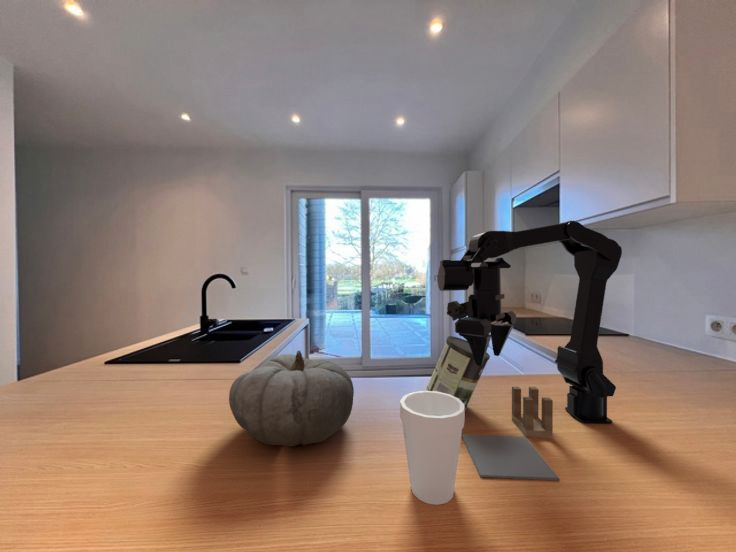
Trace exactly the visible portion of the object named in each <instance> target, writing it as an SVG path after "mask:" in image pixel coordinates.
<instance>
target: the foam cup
mask: <svg viewBox="0 0 736 552" xmlns="http://www.w3.org/2000/svg"><path fill="white" fill-rule="evenodd" d="M465 411H466V410H465V405H464V404H463V403H462V401H461V400H460V399H458V398H456V397H454V396H452V395H450V394H446V393H441V392H437V391H426V390H419V391H413V392H409V393H407V394H405V395H403V396H402V397H401V399H400V401H399V418H400V420H401V424H402V431H403V440H404V445H405V446H404V447H405V455H406V461H407V468H408V469H407V470H408V475H409V476H408V477H409V484H410V488H411V492H412V494H413V495H414V497H416V499H418V500H419V501H421V502H423V503H426V504H428V505H437V506H439V505H444V504H447V503H449V502H450V501H451V500H452V499H453V498H454V491H455V485H456V477H457V470H458V464H459V463H458V462H459V455H460V448H461V442H462V441H461V440H462V439H461V438H462V435H463V434H462V433H463V429H464V428H465V421H466V419H465V418H466V417H465V414H466V413H465Z"/></svg>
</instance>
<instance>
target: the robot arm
mask: <svg viewBox="0 0 736 552" xmlns="http://www.w3.org/2000/svg"><path fill="white" fill-rule="evenodd" d="M552 242H559V243H560V244H561V246H563V248H564V249H565V251H566V252H567V253H569V254H570V255H571V256H573V262H574V263H573V266H574V268H575V269H574V270H575V272H576V273H577V275H578V277H579V279H578V280H579V281H578V287H577V293H576V294H577V295H576V300H575V305H574V306H575V308H574V312H573V319H572V327H571V332H570V333H571V334H570V338H569V341H568V342H567V344H566V345H564V346H561V345H558V347H557V355H556V359H555V361H554V363H555V364H556V365H557V366H556V368H557V371H558V372H559V374H561V376H562V377H563V378H562V379H563V380H564V383H566V384H569V385H568V387H569V390H568V391H569V392H567V393H566V394H567V395H566V396H567V397H566V402H567V403H566V407H564V410H565V411H566V412H568V413H569V414H570V415H571V416H573V418H575V419H577V420H578V421H579V422H581V423H590V424H591V423H593V424H613V420H612V419H611V418H609V417H608V397H613V396H614V394H615V393H616V390H617V387H616V385H615V384H614V383H613V382H612V381H611V380H610V379H609V378H608V377H607V376H606V375H605V374H604V360H603V357H602V355H601V352H600V350H599V347H598V342H599V334H600V327H601V320H602V314H603V309H604V300H605V295H606V288H607V282H608V280H609V279H610V278H611V277H612V275H613V274H614V273H615V272H616V271H617V270H618V267H619V264H620V260H621V258H622V252H623V250H622V246H621V245H619V243H618V242H617V241H616V240H614V239H611V238H609V237H607V236H606V235H604V233H600V232H598V231H596V230H593V229H591V228H589V227H586V226H584V225H583V224H582V223H580V222H579V221H575V220H568V221H564V222H560V223H556V224H550V225H547V226H546V225H545V226H541V227H536V228H531V229H530V228H529V229H524V230H518V231H511V230H487V231H485V232H482V233H478V234H476V235H473V236H472V237H471V239H470V240H469V243H468V249H467V250H466V252H465V253H464V255H462V258H460V260H452V259H441V260H439V268H438V273H437V275H436V280H437V285H438V286H437V288H438V290H439V291H440V292H448V291H449V292H451V291H452V292H453V291H467V290H469V287H471V286H472V293H471V294H469V295H468V299H467V301H465V302H462V303H460V302H459V301H457V300H453V301H449V302H447V307H446V308H447V309H446V310H447V311H446V315H447V316H449V317H451V319H452V321H455V322H454V332H455V333H456V334H458V335H459V336H460V337H462V338H464V340H466V341H468V343H469V345H470V348H471V351H472V354H473V357H474V359H475V362H476V365H479V366H481V365H482V364H483V361H484V358H485V355H486V352H487V353H488V348H489V345H490V341H491V346H492V352H493V355H494V356H495V357H500V355H501V353H502V351H503V349H504V346H505V345H506V342H507V340H508V338H509V336H510V335H511V334H510V333H511V332H512V331H513V328H514V327H515V325H514V324H517V314H516V313H515V312H514V311H513V310H504V309H502V300H504V299H505V293H502V290H501V289H502V281H501V279H502V278H501V273H502V272H501V269H510V268H511V264H509V263H508V262H507V261H506V260H505V259H504V258H503V257H500V256H503V255H505V254H508V253H509V254H510V253H511V252H513V251H515V250H517V249H520V248H525V247H531V246H536V245H540V244H541V245H542V244H546V243H552ZM493 258H496V259H495V260H491V261H488V259H493ZM486 260H487V261H486ZM472 264H479V266H472Z"/></svg>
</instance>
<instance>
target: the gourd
mask: <svg viewBox="0 0 736 552" xmlns="http://www.w3.org/2000/svg"><path fill="white" fill-rule="evenodd" d="M351 378H352V377H350V374H348V372H346V371H345V369H344V368H342V366H340V365H339V364H336V363H334V362H333V361H331V360H326V359H315V360H313V359H310V358H307V357H305V356H303V354H302V352H301V350H297V351H296V354H293V353H285V354H279V355H277V356H274V357H272V358H271V359H269V361H266V362H264V363H263V364H261V365H260V366H258V367H257V368H255V369H252V370H248V371H246V372H244V373H241V375H239V376H238V377H237V378H235V379H234V381H233V382H232V384H231V386H230V389H229V394H228V402H229V403H228V404H229V407H230V410H231V413H232V415H233V417H234V419H235V421H236V423H237V424H238V425H239V426H240V428H242V429H243V430H245V432H247V433H248V434H249V435H250V437H252V438H253V439H256V440H257V441H259V442H260V443H263V444H264V445H267V446H276V445H277V446H285V447H294V446H298V445H301V446H304V445H305V446H306V445H309V444H310V445H311V444H317V443H318V444H319V443H322V442H324V441H325V440H327V439H328V438H330V437H331V436H332V435H334V434H335V433H337V432H339V431H340V430H341V429H342V428H343V427H344V426H345V424H346V423H347V422H348V420H349V418H350V416H351V413H352V410H353V405H354V404H353V403H354V394H355V393H354V392H355V391H354V390H355V389H354V384H353V380H352V379H351Z"/></svg>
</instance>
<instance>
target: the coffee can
mask: <svg viewBox="0 0 736 552" xmlns="http://www.w3.org/2000/svg"><path fill="white" fill-rule="evenodd" d="M490 358H491V356H490V354H489V353H488V351H487V352H486V355H485V358H484V361H483V364H482V365H481V366H479V365H476V362H475V359H474V357H473V354H472V351H471V348H470V345H469V343H468V341H467V340H466V339H465V338H464V339H463V338H461V337H457V336H452V335H451V336H447V337H446V341H445V344H444V346H443V348H442V351H441V353H440V356H439V358H438V360H437V363H436V365H435V368H434V370H433V372H432V374H431V377H430V379H429V381H428V384H427V386H426V388H425V391H437V392H441V393H446V394H450V395H452V396H454V397H456V398H458V399H460V400H461V401H462V403H463V404H464V405H465V411H466V410H467V407H468V405H469V403H470V401H471V398H472V396H473V394H474V392H475V390H476V387H477V385H478V382H479V381H480V378H481V376H482V373H483V372H484V370H485V367H486V365H487V363H488V361H489V360H490Z"/></svg>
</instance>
